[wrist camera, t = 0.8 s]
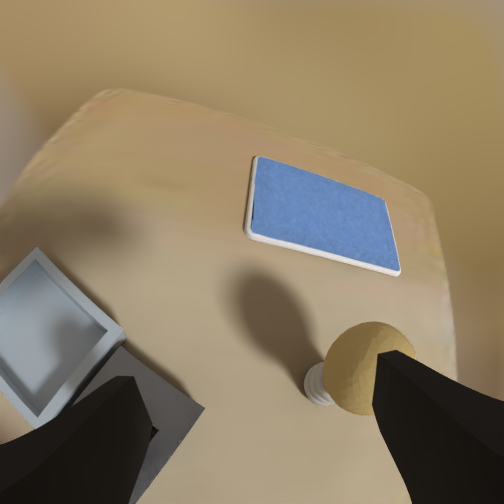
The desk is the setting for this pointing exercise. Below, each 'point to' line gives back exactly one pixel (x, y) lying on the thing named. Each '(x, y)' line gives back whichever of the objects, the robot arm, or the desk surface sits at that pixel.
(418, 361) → the robot arm
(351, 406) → the light bulb
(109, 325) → the tray
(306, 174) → the tablet computer
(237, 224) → the desk surface
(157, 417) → the block
